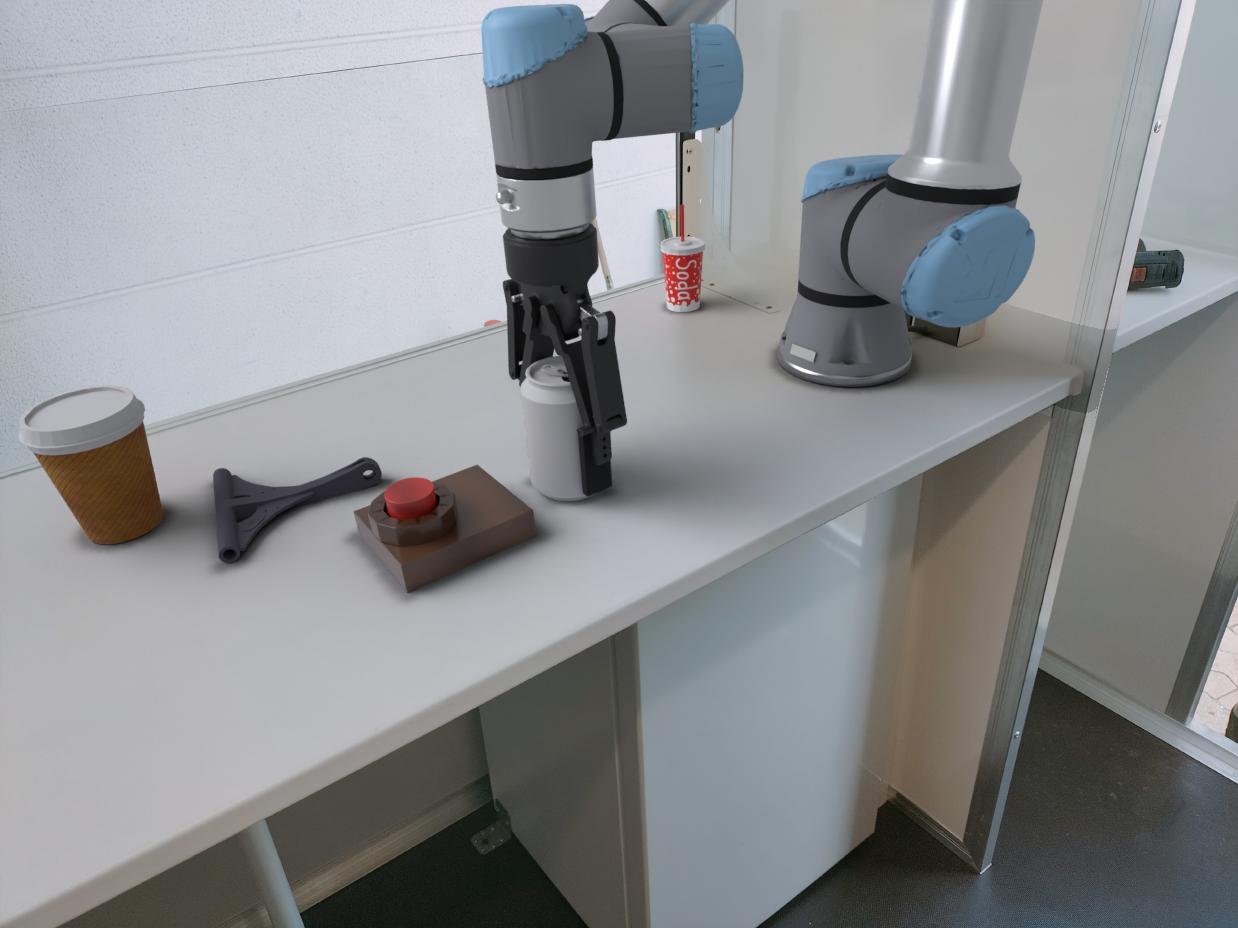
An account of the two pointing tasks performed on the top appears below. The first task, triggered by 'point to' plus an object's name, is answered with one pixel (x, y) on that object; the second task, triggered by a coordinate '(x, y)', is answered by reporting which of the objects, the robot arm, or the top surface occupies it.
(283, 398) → the top surface
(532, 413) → the can
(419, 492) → the button
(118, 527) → the disposable coffee cup
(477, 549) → the button box
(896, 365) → the robot arm
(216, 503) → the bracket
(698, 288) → the beverage cup
